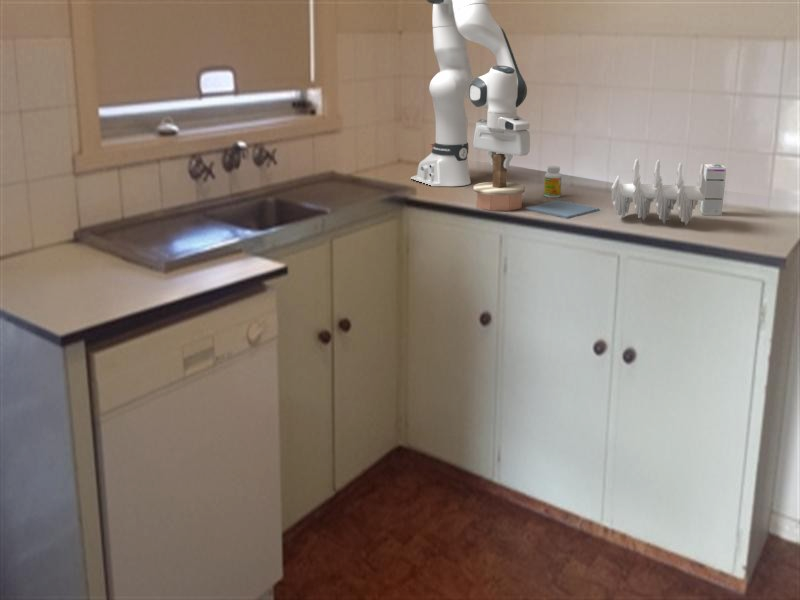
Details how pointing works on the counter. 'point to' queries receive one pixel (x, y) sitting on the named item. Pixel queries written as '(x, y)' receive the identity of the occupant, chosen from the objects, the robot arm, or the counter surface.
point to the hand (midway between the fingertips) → (500, 167)
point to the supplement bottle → (552, 182)
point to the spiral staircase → (658, 195)
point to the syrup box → (713, 189)
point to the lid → (499, 180)
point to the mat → (562, 209)
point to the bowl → (499, 202)
